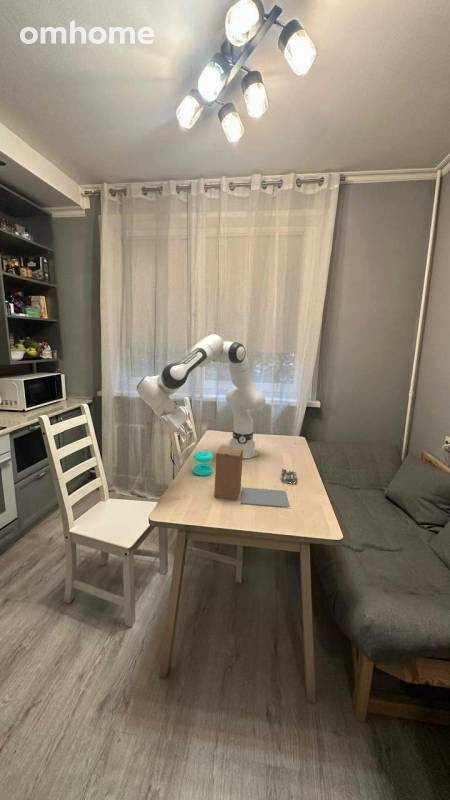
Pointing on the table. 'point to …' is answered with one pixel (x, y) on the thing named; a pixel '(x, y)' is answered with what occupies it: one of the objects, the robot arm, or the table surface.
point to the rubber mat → (264, 497)
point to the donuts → (203, 458)
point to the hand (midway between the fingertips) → (188, 433)
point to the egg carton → (288, 476)
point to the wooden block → (228, 472)
